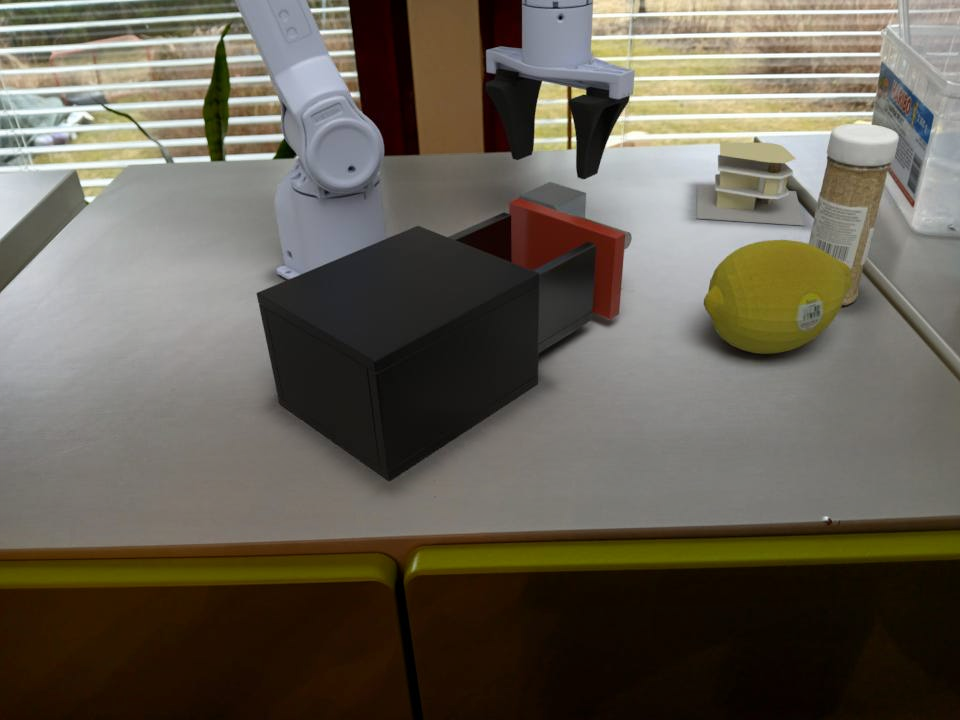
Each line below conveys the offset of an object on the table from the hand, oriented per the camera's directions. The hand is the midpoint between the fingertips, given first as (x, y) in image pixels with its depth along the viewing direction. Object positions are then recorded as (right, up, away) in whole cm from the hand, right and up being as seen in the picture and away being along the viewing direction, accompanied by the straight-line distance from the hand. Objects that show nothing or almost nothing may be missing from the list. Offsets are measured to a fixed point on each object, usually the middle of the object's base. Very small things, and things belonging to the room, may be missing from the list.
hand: (553, 165), depth 71 cm
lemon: (+15, -16, -13) cm, 25 cm away
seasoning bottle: (+22, -12, -7) cm, 26 cm away
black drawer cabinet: (-11, -20, -17) cm, 28 cm away
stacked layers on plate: (+21, -2, +9) cm, 23 cm away
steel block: (0, -6, +4) cm, 7 cm away
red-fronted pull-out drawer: (-2, -14, -10) cm, 17 cm away
